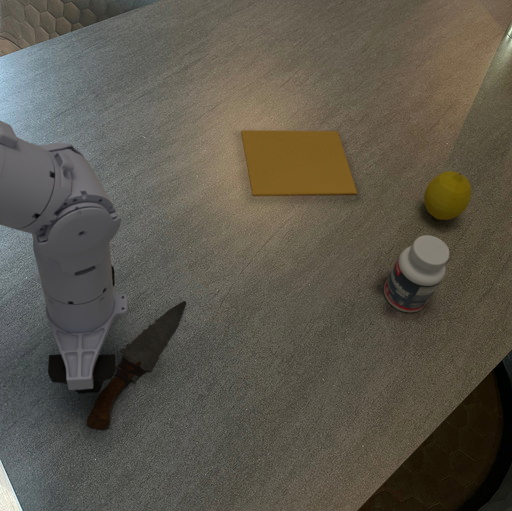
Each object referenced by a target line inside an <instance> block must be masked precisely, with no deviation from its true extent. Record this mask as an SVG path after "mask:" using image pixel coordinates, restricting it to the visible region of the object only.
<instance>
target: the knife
mask: <svg viewBox="0 0 512 511" xmlns="http://www.w3.org/2000/svg"><path fill="white" fill-rule="evenodd" d="M186 305H187V301H186V300H183V301H182V302H180V303H177V304H176V305H174V306H173V307H171V308H170V309H168V310H167V311H165V312H164V313H163V314H162V315H161V316H159V318H157V319H155V320H154V322H153V323H151V324H148V327H146V328H145V329H143V331H142V332H141V333H139V334H138V335H137V337H136V338H134V339H133V340H132V341H131V342H130V343H126V346H125V347H124V348H122V349H120V351H119V353H120V354H121V355H123V357H122V359H121V361H120V363H118V365H115V369H116V370H118V371H116V373H114V375H113V378H111V379H110V380H109V382H108V384H107V385H106V386H105V387H104V388H103V389H102V390H100V393H99V394H98V396H97V397H96V399H95V401H94V404H93V406H92V408H91V410H90V412H89V414H88V417H86V426H88V428H91V429H94V430H106V429H107V428H109V426H110V424H111V414H110V413H111V410H112V408H113V407H112V406H113V404H114V402H115V399H116V398H118V396H119V394H120V393H121V392H122V391H123V389H124V388H125V387H127V386H128V385H129V383H130V381H131V382H133V383H136V382H137V381H138V380H137V379H138V378H139V377H141V376H142V375H143V374H144V373H146V372H149V373H151V372H152V371H153V368H154V367H155V365H156V363H157V362H158V361H159V358H160V355H161V354H162V353H163V352H164V349H165V348H166V347H167V346H168V342H169V341H170V339H171V337H172V335H173V334H174V333H175V332H176V330H177V328H178V327H179V324H180V321H181V319H182V317H183V314H184V310H185V308H186Z"/></svg>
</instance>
